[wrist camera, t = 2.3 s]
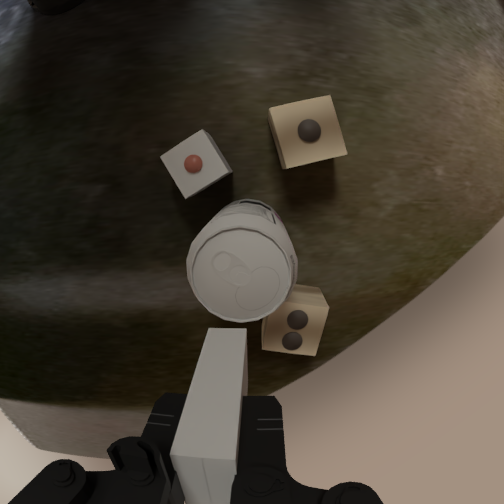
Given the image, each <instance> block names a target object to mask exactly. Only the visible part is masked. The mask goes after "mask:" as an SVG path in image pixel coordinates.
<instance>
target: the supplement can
mask: <svg viewBox="0 0 504 504" xmlns="http://www.w3.org/2000/svg"><path fill="white" fill-rule="evenodd" d="M186 264H187V278H188V281H189V283H190V286H191V288H192V290H193V292H194V295H195V296H196V297H197V298H198V300H199V301H200V302H201V303H202V304H203V305H204V307H205V308H206V309H207V310H208V311H209V312H211V313H213V314H214V315H216V316H218V317H220V318H222V319H224V320H228V321H234V322H240V323H243V322H249V321H256V320H259V319H261V318H263V317H265V316H267V315H269V314H271V313H273V312H274V311H276V310H278V308H279V307H280V306H281V305H282V304H283V303H284V302H285V301H286V300H287V299H288V298H289V297H290V295H291V293H292V290H293V288H294V285H295V283H296V281H297V268H298V260H297V257H296V254H295V251H294V248H293V245H292V242H291V240H290V238H289V236H288V234H287V231H286V229H285V227H284V225H283V222H282V220H281V218H280V216H279V215H278V214H277V213H276V212H275V210H274V209H273V208H272V207H270V206H269V205H267V204H265V203H263V202H262V201H259V200H253V199H242V200H237V201H234V202H232V203H230V204H228V205H227V206H225V207H223V208H222V209H221V210H220V211H219V212H218V213H217V214H216V215H215V216H214V217H213V218H212V219H211V221H210V222H209V223H208V224H207V225H206V226H205V227H204V228H203V229H202V230H201V231H200V233H199V234H198V235H197V237H196V238H195V239H194V240H193V242H192V244H191V247H190V250H189V253H188V257H187V260H186Z"/></svg>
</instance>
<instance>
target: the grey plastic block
mask: <svg viewBox="0 0 504 504" xmlns="http://www.w3.org/2000/svg"><path fill="white" fill-rule="evenodd" d="M160 158H161V159H162V161H163V163H164V164H165V166H166V168H167V169H168V171H169V173H170V174H171V176H172V178H173V179H174V181H175V183H176V184H177V186H178V188H179V189H180V191H181V193H182V194H183V196H184V197H185V199H186V198H189V197H191V196H194V195H196V194H198V193H199V192H201V191H202V190H204V189H206V188H207V187H209V186H210V185H212V184H214V183H215V182H217V181H219V180H220V179H222V178H223V177H225V176H227V175H228V174H230V173H232V172H233V171H232V170H231V168H230V166H229V165H228V163H227V161H226V160H225V158H224V157H223V155H222V153H221V152H220V150H219V148H218V147H217V145H216V143H215V142H214V140H213V139H212V137H211V135H210V134H209V133H207V132H206V131H204V130H203V129H202V130H200V131H198V132H197V133H195V134H194V135H192V136H190V137H189V138H187V139H186V140H184V141H183V142H181V143H180V144H178V145H177V146H175V147H174V148H172V149H171V150H169V151H168V152H166V153H165V154H163V155H162V156H160Z"/></svg>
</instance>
